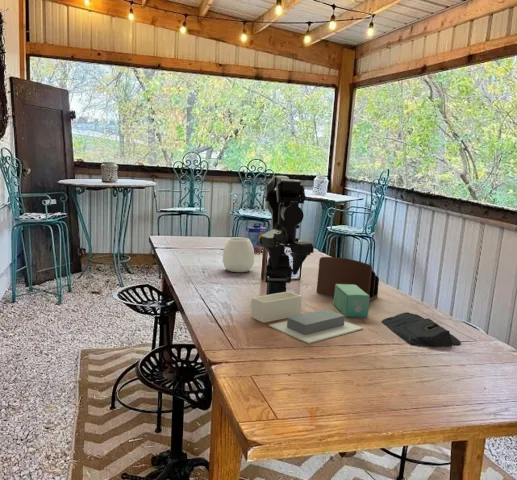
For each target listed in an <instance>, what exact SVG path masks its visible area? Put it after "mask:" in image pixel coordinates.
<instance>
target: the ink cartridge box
mask: <svg viewBox="0 0 517 480" xmlns="http://www.w3.org/2000/svg"><path fill="white" fill-rule="evenodd" d="M267 230H268V228H267V227H264V226H262V223H254V224H253V226H246V227H245V238H247V239H250V241H251V243H252V245H253V248H254V251H262V250H263V246H262V244H260V238H261V235H263V234H265V233H266V232H268V231H267Z"/></svg>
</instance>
